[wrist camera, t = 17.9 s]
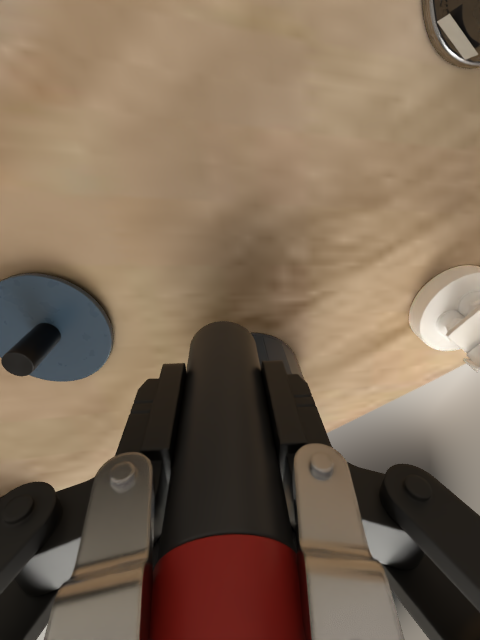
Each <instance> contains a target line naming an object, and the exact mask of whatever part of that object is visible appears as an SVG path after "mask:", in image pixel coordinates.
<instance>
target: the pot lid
mask: <svg viewBox="0 0 480 640" xmlns="http://www.w3.org/2000/svg"><path fill="white" fill-rule="evenodd" d="M112 347H113V331H112V327H111V324H110V321H109V319H108V317H107V315H106V313H105V312H104V310H103V309H102V307H101V306H100V305H99V304H98V302H97V301H96V300H95V299H94V298H93V297H91V296H90V295H89V294H88V293H87V292H85V291H84V290H82V289H81V288H79V287H78V286H76V285H74V284H72V283H70V282H68V281H66V280H63V279H61V278H58V277H54V276H50V275H45V274H35V273H28V274H19V275H15V276H11V277H9V278H6V279H4V280H2V281H0V357H1V358H2V360H1V361H2V365H3V367H4V368H5V369H6V370H7V371H8V372H10V373H11V374H14V375H17V376H27V375H31V376H33V377H37V378H40V379H44V380H49V381H74V380H78V379H82V378H85V377H87V376H89V375H92V374H93V373H95V372H96V371H98V370H99V369H100V368H101V367H102V366H103V365H104V364H105V362H106V361H107V359H108V357H109V355H110V353H111V350H112Z"/></svg>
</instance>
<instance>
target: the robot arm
mask: <svg viewBox="0 0 480 640" xmlns="http://www.w3.org/2000/svg"><path fill="white" fill-rule="evenodd" d="M423 14H424V21H425V26H426V30H427V33H428V36H429V39H430V41H431V43H432V45H433V46H434V48H435V50H436V51H437V52H438V54H439V55H440V56H441V57H442V58H443V59H445V60H446V61H447V62H449V63H451V64H452V65H455V66H458V67H462V68H469V69H472V68H480V0H423ZM261 374H262V379H263V385H264V390H265V395H266V400H267V405H268V411H269V416H270V421H271V426H272V431H273V437H274V442H275V447H276V452H277V457H278V463H279V466H280V471H281V477H282V482H283V487H284V492H285V497H286V502H287V508H288V513H289V518H290V523H291V528H292V533H293V538H294V544H295V549H296V554H297V566H298V577H299V588H300V600H301V611H302V623H303V628H304V632H305V638H306V640H404V636H403V632H402V629H401V625H400V622H399V618H398V614H397V611H396V607H395V603H394V600H393V596H392V592H393V593H394V594H395V595H396V597H397V598H398V599H399V601H400V602H401V603H402V604H403V606H404V607H405V608H406V609H407V611H408V612H409V614H410V615H411V616H412V617H413V619H414V620H415V621H416V623H417V624H418V625H419V626H420V628H421V629H422V630H423V632H424V633H425V634H426V636H427V637H428V638H429V639H430V640H480V516H479V515H478V514H477V513H476V512H474V511H473V510H472V509H471V508H470V507H469V506H467V505H466V504H465V503H464V502H463V501H461V500H460V499H459V498H458V497H457V496H456V495H454V494H453V493H452V492H451V491H450V490H449V489H447V488H446V487H445V486H444V485H442V484H441V483H440V482H439V481H438V480H437V479H436V478H434V477H433V476H432V475H431V474H429V473H428V472H426V471H424V470H423V469H420V468H418V467H416V466H413V465H409V464H397V465H394V466H392V467H390V468H389V469H388V470H387V472H386V474H382V473H378V472H375V471H371V470H366V469H363V468H359V467H356V466H354V465H352V464H350V463H348V462H346V460H345V459H344V458H343V456H342V455H341V454H340V453H339V452H338V451H336V450H335V449H333V447H332V446H331V444H330V441H329V439H328V436H327V433H326V431H325V428H324V426H323V423H322V420H321V418H320V415H319V413H318V410H317V407H315V402H314V400H313V397H312V394H311V392H310V389H309V387H308V384H307V383H306V382H305V381H304V380H303V379H302V378H301V377H300V376H299V375H298V374H287V373H286V369H285V366H284V363H283V361H282V360H275V361H262V363H261ZM185 378H186V367H185V363H177V364H163V366H162V370H161V374H160V377H159V379H148V380H147V381H146V382H145V383H144V384H143V385H142V386H141V387H140V388H139V389H138V392H137V395H136V398H135V400H134V404H133V406H132V409H131V414H130V415H129V418H128V421H127V423H126V426H125V429H124V432H123V435H122V438H121V441H120V443H119V446H118V449H117V452H116V454H115V457H113V458H111V459H110V460H108V461H107V462H106V463H105V464H104V465H103V466H102V467H101V468H100V469H99V471H98V472H97V474H96V476H95V477H94V478H92V479H90V480H88V481H86V482H83V483H81V484H78V485H75V486H72V487H69V488H66V489H63V490H60V491H57V492H55V490H54V488H53V487H52V486H51V485H49V484H48V483H45V482H32V483H27V484H24V485H22V486H19V487H17V488H15V489H14V490H12V491H10V492H9V493H7V494H6V495H4V496H3V497H2V498H1V499H0V640H36V639H37V638H38V637H39V635H40V634H41V632H42V631H43V629H44V628H45V627H46V625H47V624H48V625H47V629H46V633H45V637H44V640H148V639H149V638H150V621H151V606H152V592H153V570H154V567H155V565H156V564H157V559H158V552H159V546H160V539H161V533H162V526H163V520H164V513H165V507H166V500H167V494H168V487H169V481H170V474H171V469H172V463H173V457H174V450H175V444H176V437H177V430H178V424H179V417H180V411H181V404H182V398H183V391H184V385H185ZM391 590H392V592H391Z"/></svg>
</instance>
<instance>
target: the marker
mask: <svg viewBox="0 0 480 640" xmlns="http://www.w3.org/2000/svg"><path fill="white" fill-rule="evenodd" d="M148 640H306V638H305V632H304V628H303V623H302V611H301V600H300V588H299V577H298V566H297V554H296V549H295V544H294V538H293V533H292V528H291V523H290V518H289V513H288V508H287V502H286V497H285V492H284V487H283V482H282V477H281V471H280V466H279V463H278V457H277V452H276V447H275V442H274V437H273V431H272V426H271V421H270V416H269V411H268V405H267V400H266V395H265V390H264V385H263V379H262V374H261V368H260V363H259V358H258V353H257V347H256V342H255V340H254V338H253V336H252V334H251V333H250V332H249V331H248V330H247V329H246V328H244V327H243V326H241V325H239V324H236V323H233V322H228V321H220V322H214V323H211V324H208V325H206V326H204V327H203V328H201V329H200V330H199V331H198V332H197V333H196V334H195V336H194V337H193V339H192V341H191V345H190V351H189V358H188V364H187V371H186V378H185V385H184V391H183V398H182V404H181V411H180V417H179V424H178V430H177V437H176V444H175V450H174V457H173V463H172V469H171V474H170V481H169V487H168V494H167V500H166V507H165V513H164V520H163V526H162V533H161V539H160V546H159V552H158V559H157V564H156V565H155V567H154V570H153V592H152V606H151V621H150V638H149V639H148Z"/></svg>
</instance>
